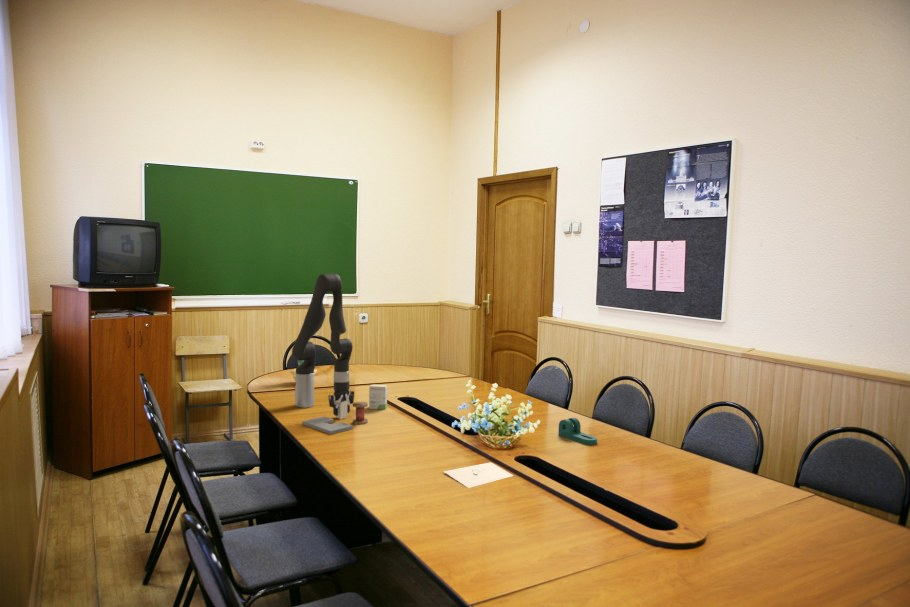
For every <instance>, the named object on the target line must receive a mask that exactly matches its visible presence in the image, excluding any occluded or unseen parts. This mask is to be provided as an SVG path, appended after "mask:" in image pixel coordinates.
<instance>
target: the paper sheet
mask: <svg viewBox="0 0 910 607" xmlns="http://www.w3.org/2000/svg"><path fill="white" fill-rule="evenodd" d="M443 472H444V474H446V475H448V476H449V477H451V478H453V480H455V481H458V483H460V484H462V485H463V486H465V487H466V488H468V489H471V488H474V487H478V486H481V485H484V484H489V483H492V482H495V481H499V480H503V479H507V478H511V477H514V475H513V474H512V473H510V472H508V471H507V470H505V469H504V468H501V467H500V466H499V465H496V464H495V463H493V462H486V463H485V462H484V463H481V464H475V465H470V466H465V467H460V468H455V469H450V470H443Z"/></svg>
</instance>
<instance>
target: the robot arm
mask: <svg viewBox="0 0 910 607" xmlns="http://www.w3.org/2000/svg"><path fill="white" fill-rule="evenodd" d="M315 281H316V282H315V285H314V288H313V293H312V297H311V300H310V303H309V305H308V309H307V311H306V314H305V317H304V319H303V323H302V326H301V328H300V331H299V334H298V336H297V337H296V339H295V342H294V344H293V346H292V348H291V355H292V358H293V360H295V361H302V360H304V362H303V363H302V364H301V365H300V366H296V368H295V369H296V381H295V387H294V391H295V392H294V405H295V406H296V407H297V408H305V409H306V408H312V407H314V406H315V375H314V369H315V370H316V354H317V349H316V345H315V343H313V341H310V340H311V339H312V338H313V337H314V336H315V335H316V334H317V333H318V332H319V330H320V329H321V328H322V327H323V324H324V322H325V319H326V315H327V314H326V308H325V306H324V302H323V301H324V297H325V295H326V294H327V293H331V294H332V301H333V302H332V305H331V308H330V311H329V317H328V321H329V327H330V343H329V344H330V346H329V347H330V351H331V352H332V353H333V354H334V355H340V357H337V358H336V359H335V360H334V361H333V364H334V365H333V370H334V372H333V394H329V395H328V403H329V404H328V405H329V408H332V413H333V415H334V416H335V417H336V416H338V408H337V407H338V405H339V404H340V402H341V401H347V414H349V413H350V412H351V405H353V403H355V391H354V390H350V360H351V356H352V352H353V347H354V346H353V342H352V340H351V339H350V338H341V335H344V334H345V333H346V332H347V331H346V330H347V328H346V323H345V319H344V318H345V317H344V309H343V283H342V279H341V276H340V275H339V274H338V273H321V274H318V276H317V278H316V280H315Z"/></svg>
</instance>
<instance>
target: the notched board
mask: <svg viewBox="0 0 910 607" xmlns="http://www.w3.org/2000/svg"><path fill="white" fill-rule="evenodd" d="M302 425H304V426H306V427H309V428H312V429H315V430H317V431H321V432H324V433H326V434H328V435H334V434H338V433H342V432H346V431H350V430H353V429H354V425H352V424H349V423H345V422H343V421H342V422H337V423H335V418H330V417H328V416H326V415H325V416H319V417H315V418H311V419H305V420H302Z"/></svg>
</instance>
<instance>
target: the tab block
mask: <svg viewBox="0 0 910 607" xmlns="http://www.w3.org/2000/svg"><path fill="white" fill-rule="evenodd" d="M337 408H338V416H335V418H337V419H339V420H342V419H346V418H348V413H347V401H341V402H340V404H339V405H338V407H337Z"/></svg>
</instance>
